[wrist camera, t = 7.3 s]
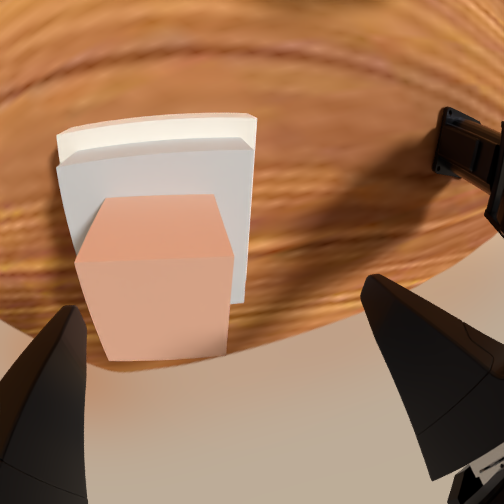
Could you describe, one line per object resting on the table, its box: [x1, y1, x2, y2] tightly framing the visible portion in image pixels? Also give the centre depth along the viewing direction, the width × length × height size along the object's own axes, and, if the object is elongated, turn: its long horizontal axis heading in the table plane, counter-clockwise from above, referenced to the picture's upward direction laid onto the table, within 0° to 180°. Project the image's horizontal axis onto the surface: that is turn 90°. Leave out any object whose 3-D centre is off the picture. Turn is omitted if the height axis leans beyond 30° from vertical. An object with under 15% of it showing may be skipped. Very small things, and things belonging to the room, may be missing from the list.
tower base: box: [57, 113, 257, 281], centre depth 17 cm, size 11×11×3 cm
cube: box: [74, 194, 234, 361], centre depth 11 cm, size 5×5×5 cm
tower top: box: [56, 137, 254, 304], centre depth 15 cm, size 9×9×3 cm
